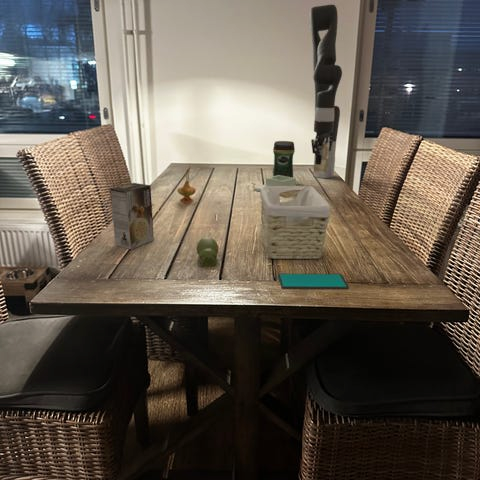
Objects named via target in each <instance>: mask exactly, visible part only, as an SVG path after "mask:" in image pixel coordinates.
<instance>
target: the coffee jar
mask: <svg viewBox="0 0 480 480" xmlns="http://www.w3.org/2000/svg"><path fill="white" fill-rule="evenodd" d="M272 151H273V152H272V153H273V154H274V155H273V156H274V157H273V158H274V159H273V166H272V167H273V168H272V176H271V177H273V176H277V175H281V176H287V177H292V178H294V168H293V167H294V164H293V163H294V160H293V159H294V153H295V151H296V150H295V143H294V141H288V140H277V141H274V144H273V149H272Z"/></svg>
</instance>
